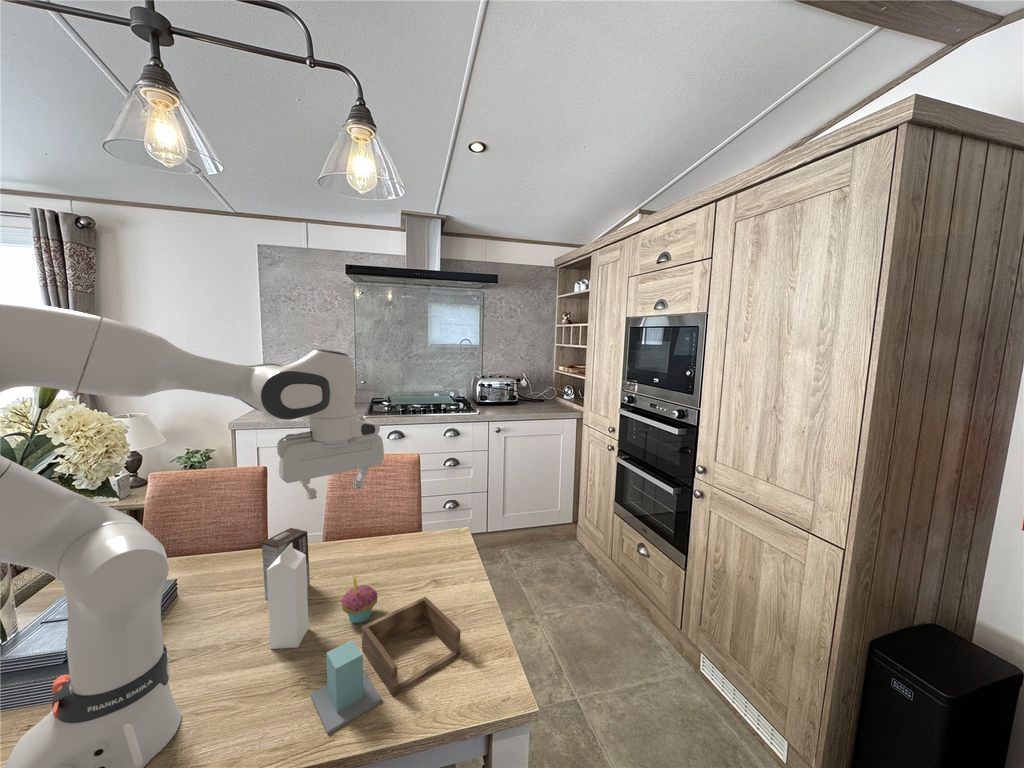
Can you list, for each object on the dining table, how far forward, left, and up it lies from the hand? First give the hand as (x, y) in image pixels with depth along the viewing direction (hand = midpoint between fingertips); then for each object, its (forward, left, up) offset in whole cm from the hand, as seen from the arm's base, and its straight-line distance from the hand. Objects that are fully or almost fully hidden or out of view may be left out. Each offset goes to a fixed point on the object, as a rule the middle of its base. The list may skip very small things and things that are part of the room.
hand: (335, 492), depth 84 cm
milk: (-7, +12, -37) cm, 40 cm away
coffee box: (-3, +31, -37) cm, 49 cm away
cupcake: (+8, +9, -37) cm, 39 cm away
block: (-3, -12, -36) cm, 39 cm away
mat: (-3, -12, -37) cm, 39 cm away
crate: (+12, -10, -37) cm, 40 cm away
